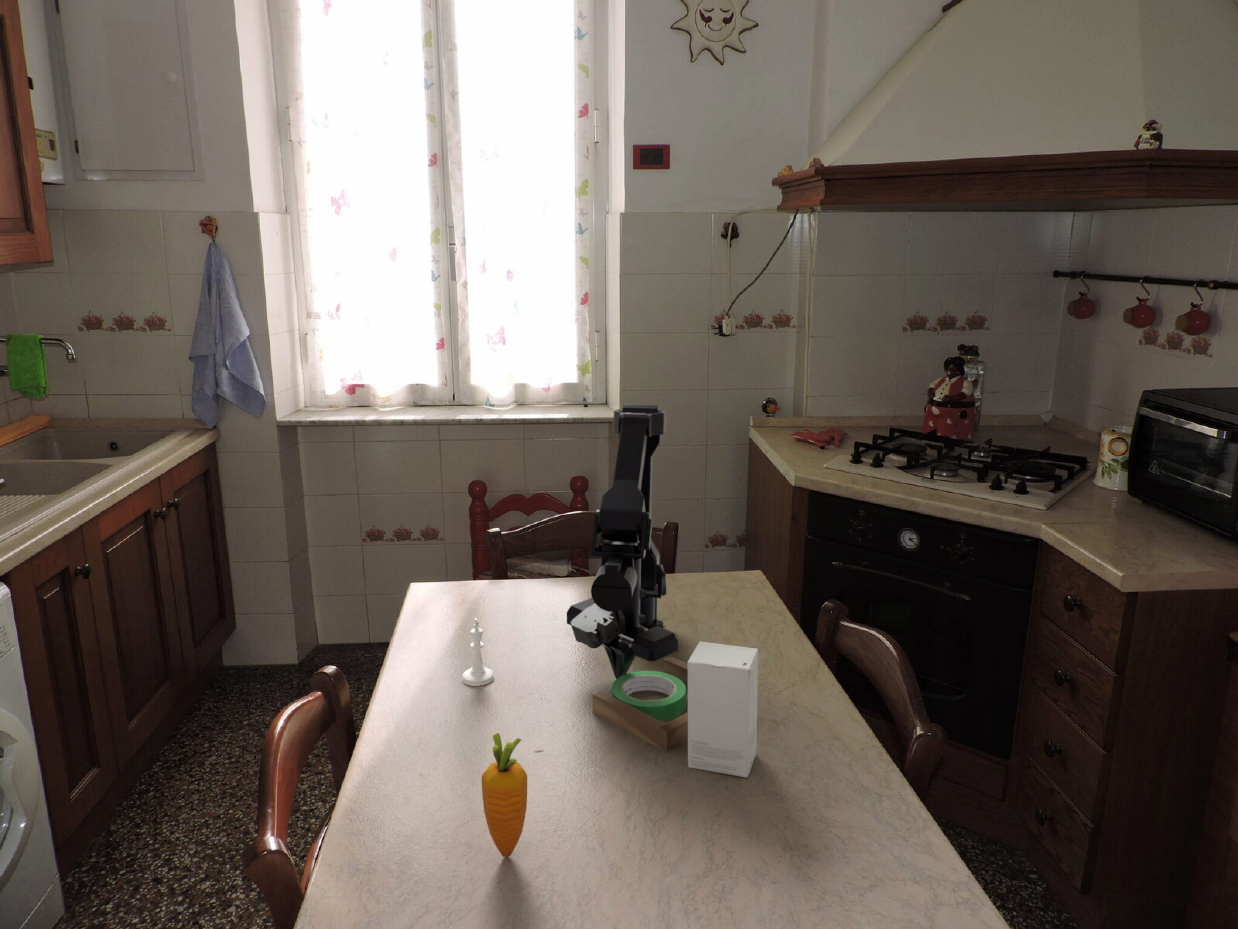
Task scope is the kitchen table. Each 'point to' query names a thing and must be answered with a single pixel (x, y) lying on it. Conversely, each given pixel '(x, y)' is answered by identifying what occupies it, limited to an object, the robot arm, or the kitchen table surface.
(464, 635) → the kitchen table surface
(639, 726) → the corral
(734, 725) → the skincare box
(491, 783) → the carrot
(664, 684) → the tape roll
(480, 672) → the chess piece
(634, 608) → the robot arm
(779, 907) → the kitchen table surface
